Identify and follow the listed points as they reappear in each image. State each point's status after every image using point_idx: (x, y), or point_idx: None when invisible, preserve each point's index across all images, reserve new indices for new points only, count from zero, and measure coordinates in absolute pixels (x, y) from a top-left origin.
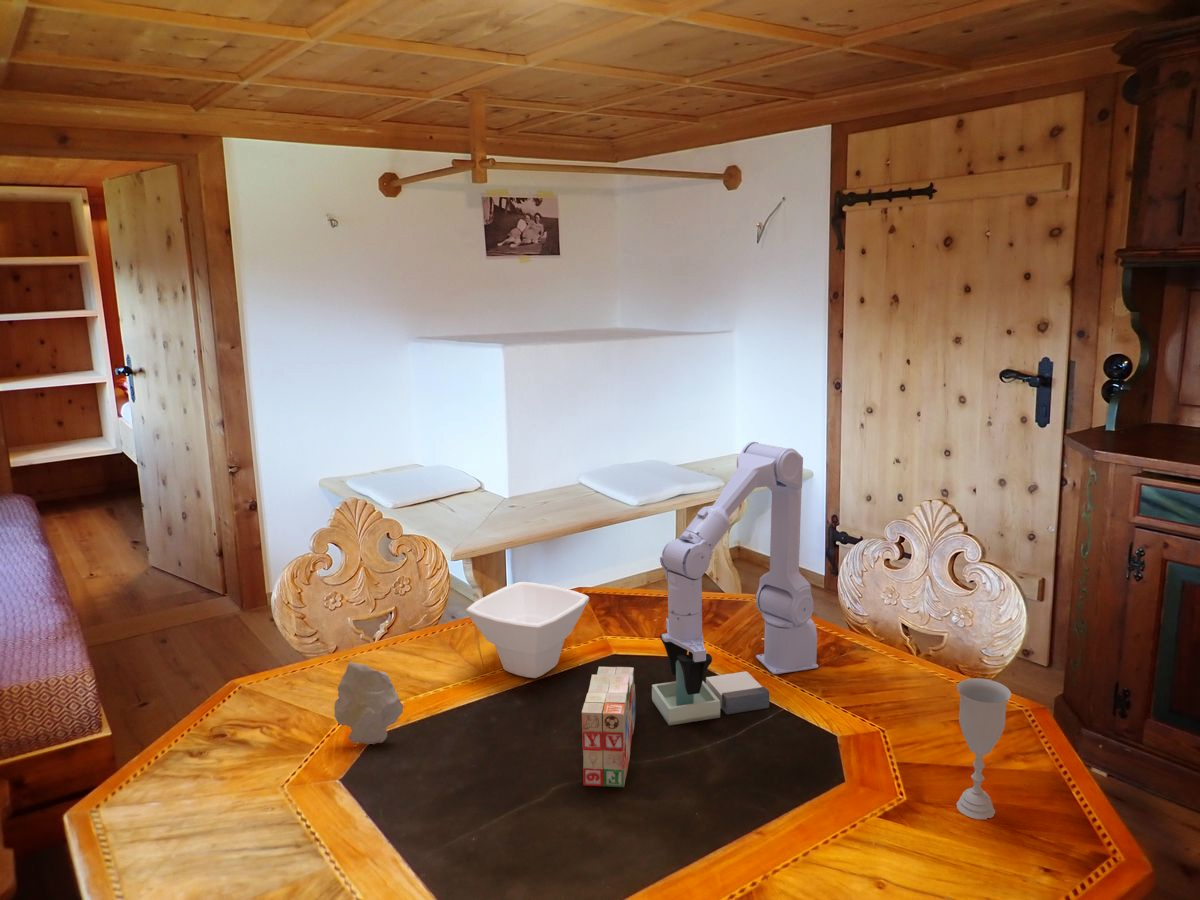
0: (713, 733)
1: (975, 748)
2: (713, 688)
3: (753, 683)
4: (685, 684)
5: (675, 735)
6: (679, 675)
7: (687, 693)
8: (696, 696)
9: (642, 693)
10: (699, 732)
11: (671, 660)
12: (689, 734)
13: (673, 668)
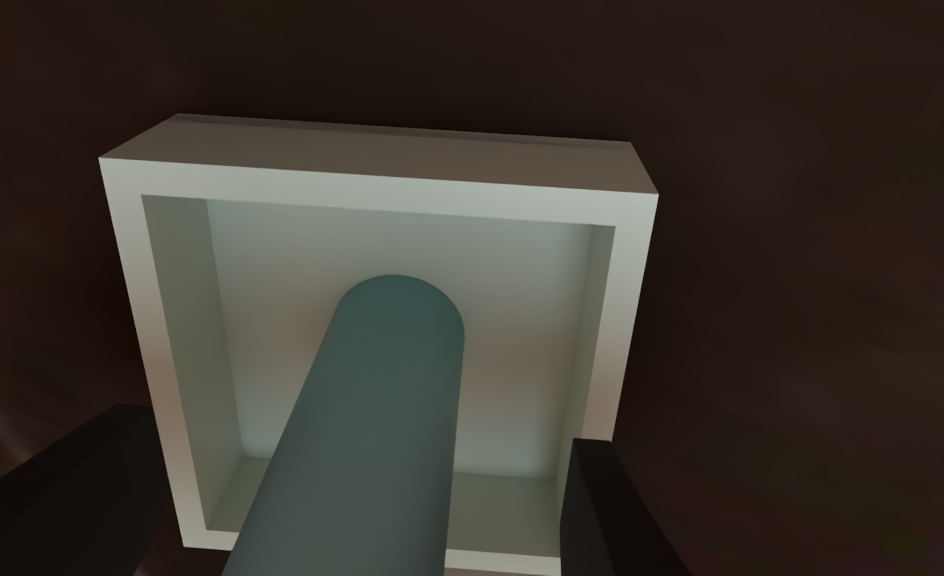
0: (38, 348)
1: None
2: (455, 574)
3: None
4: (52, 462)
5: (20, 101)
6: (275, 491)
7: (131, 406)
8: (498, 446)
9: (794, 110)
10: (56, 277)
11: (606, 569)
12: (31, 205)
13: (579, 497)
